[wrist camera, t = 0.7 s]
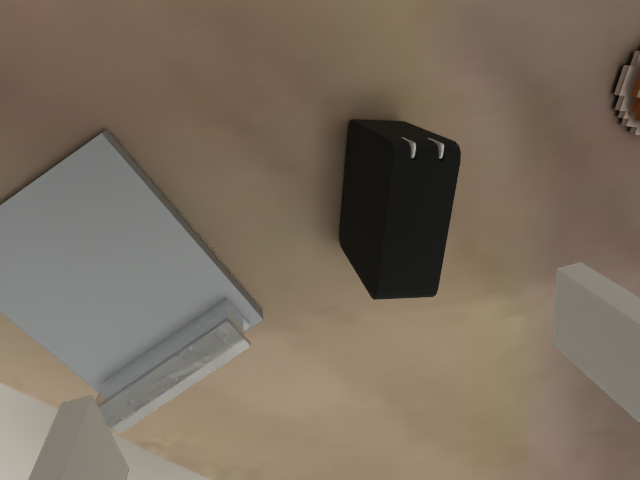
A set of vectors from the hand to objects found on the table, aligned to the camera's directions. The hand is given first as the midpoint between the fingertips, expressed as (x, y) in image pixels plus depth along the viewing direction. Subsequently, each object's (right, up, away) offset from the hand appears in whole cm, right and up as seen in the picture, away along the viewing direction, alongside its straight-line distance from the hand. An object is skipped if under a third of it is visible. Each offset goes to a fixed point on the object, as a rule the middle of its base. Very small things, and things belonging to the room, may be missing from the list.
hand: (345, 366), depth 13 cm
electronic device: (+3, +8, +24) cm, 25 cm away
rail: (-12, -5, +24) cm, 27 cm away
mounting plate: (-16, 0, +22) cm, 28 cm away
